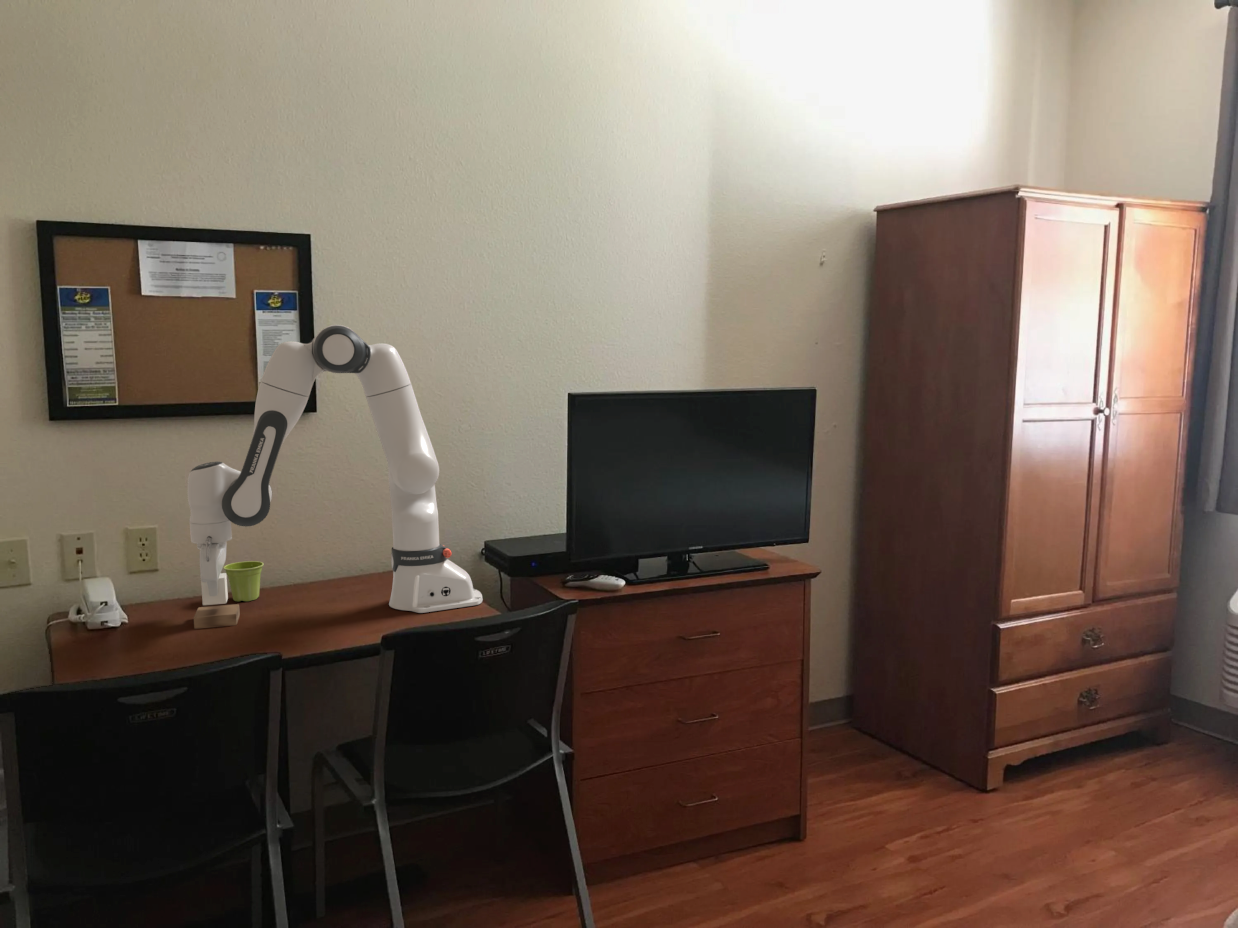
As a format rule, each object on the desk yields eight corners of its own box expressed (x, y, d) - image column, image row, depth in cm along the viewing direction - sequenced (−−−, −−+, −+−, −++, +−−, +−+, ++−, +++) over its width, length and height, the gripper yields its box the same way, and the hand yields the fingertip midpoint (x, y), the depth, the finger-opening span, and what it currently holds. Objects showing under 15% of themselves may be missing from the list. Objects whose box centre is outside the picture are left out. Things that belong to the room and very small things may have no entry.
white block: (227, 597, 238) (226, 572, 237) (226, 603, 233) (224, 577, 232) (205, 599, 237) (203, 574, 236) (202, 605, 232) (201, 579, 231)
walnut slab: (239, 616, 241) (239, 603, 241) (236, 626, 233) (235, 613, 232) (199, 619, 239) (198, 607, 238) (194, 630, 230) (193, 617, 230)
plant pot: (218, 599, 255) (216, 565, 253) (253, 592, 262) (251, 559, 260) (238, 606, 249) (235, 571, 247) (273, 597, 256) (270, 564, 254)
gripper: (221, 540, 224) (225, 602, 226) (229, 524, 243) (233, 580, 245) (190, 543, 222) (195, 604, 224) (201, 525, 241) (205, 582, 243)
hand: (215, 591), depth 235 cm, fingers closed on white block, 5 cm apart
